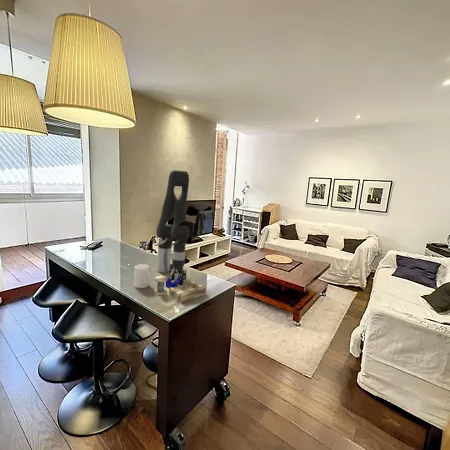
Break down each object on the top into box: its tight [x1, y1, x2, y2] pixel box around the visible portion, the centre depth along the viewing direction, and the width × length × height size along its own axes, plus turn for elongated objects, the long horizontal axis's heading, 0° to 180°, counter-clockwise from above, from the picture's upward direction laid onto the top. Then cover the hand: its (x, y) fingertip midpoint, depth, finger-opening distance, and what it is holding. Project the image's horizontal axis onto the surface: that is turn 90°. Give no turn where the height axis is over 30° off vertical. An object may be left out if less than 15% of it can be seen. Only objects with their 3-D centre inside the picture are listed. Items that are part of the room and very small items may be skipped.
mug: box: [133, 263, 151, 289], centre depth 150 cm, size 12×8×12 cm
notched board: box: [168, 280, 207, 304], centre depth 146 cm, size 12×18×4 cm, turn 137°
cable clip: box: [164, 274, 182, 289], centre depth 156 cm, size 12×4×6 cm, turn 143°
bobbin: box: [153, 275, 168, 296], centre depth 144 cm, size 7×7×9 cm
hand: (176, 282), depth 155 cm, fingers open, 8 cm apart
